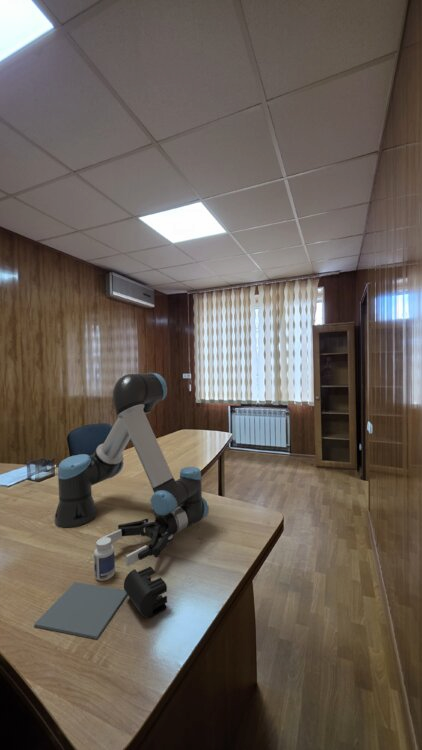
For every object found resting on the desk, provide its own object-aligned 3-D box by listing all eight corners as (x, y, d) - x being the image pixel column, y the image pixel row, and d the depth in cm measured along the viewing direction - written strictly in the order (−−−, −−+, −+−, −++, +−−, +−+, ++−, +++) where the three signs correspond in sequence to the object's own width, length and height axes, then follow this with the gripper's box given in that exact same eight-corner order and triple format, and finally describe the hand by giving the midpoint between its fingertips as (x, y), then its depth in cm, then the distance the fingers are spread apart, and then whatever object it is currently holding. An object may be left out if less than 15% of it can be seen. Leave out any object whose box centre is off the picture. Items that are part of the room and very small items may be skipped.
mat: (34, 626, 70) (34, 624, 70) (74, 584, 84) (74, 582, 84) (97, 639, 67) (97, 636, 67) (128, 592, 80) (128, 590, 80)
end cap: (123, 599, 78) (122, 573, 78) (149, 587, 82) (148, 562, 82) (140, 625, 70) (139, 596, 70) (168, 610, 74) (167, 582, 74)
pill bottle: (118, 570, 89) (117, 537, 89) (106, 583, 84) (105, 547, 84) (103, 567, 91) (102, 534, 91) (90, 579, 86) (89, 544, 85)
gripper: (197, 547, 96) (139, 584, 80) (148, 521, 113) (93, 547, 97) (196, 523, 96) (138, 555, 80) (148, 501, 112) (92, 524, 97)
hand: (113, 551), depth 88 cm, fingers open, 13 cm apart
